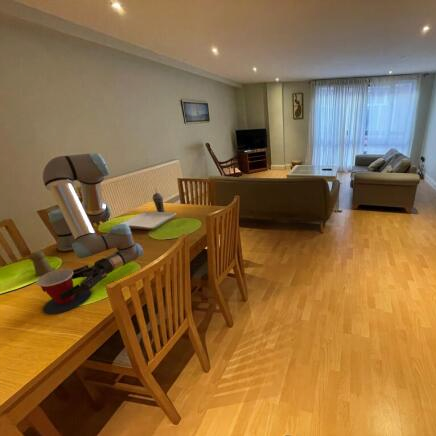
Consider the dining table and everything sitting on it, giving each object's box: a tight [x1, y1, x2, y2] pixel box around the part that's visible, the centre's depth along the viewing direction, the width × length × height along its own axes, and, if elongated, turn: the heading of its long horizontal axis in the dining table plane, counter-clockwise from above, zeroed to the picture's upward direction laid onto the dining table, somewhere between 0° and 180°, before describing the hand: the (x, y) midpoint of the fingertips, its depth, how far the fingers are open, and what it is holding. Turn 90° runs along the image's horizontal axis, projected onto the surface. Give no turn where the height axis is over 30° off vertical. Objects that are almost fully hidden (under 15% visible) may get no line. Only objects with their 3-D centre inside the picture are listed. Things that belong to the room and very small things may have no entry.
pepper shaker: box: [28, 251, 54, 277], centre depth 116 cm, size 6×6×11 cm
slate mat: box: [42, 289, 92, 315], centre depth 99 cm, size 15×15×1 cm
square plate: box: [117, 211, 177, 230], centre depth 172 cm, size 27×27×4 cm
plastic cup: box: [36, 268, 75, 305], centre depth 97 cm, size 11×11×12 cm
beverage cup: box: [152, 187, 165, 212], centre depth 190 cm, size 7×7×20 cm
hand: (51, 293), depth 94 cm, fingers open, 12 cm apart
